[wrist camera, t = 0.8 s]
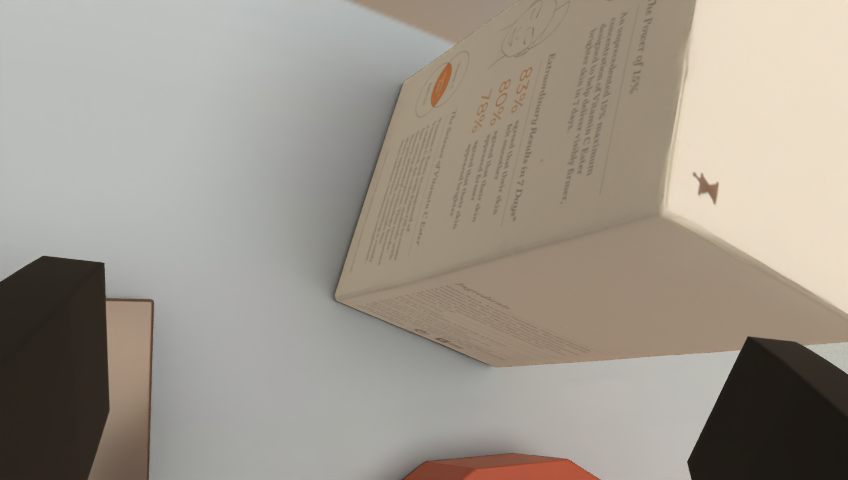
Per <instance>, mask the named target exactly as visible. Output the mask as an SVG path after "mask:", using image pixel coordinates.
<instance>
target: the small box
mask: <svg viewBox="0 0 848 480" xmlns="http://www.w3.org/2000/svg"><path fill="white" fill-rule="evenodd" d="M335 299H336V301H338V302H340V303H343V304H345V305H348V306H350V307H353V308H355V309H357V310H359V311H362V312H365V313H367V314H369V315H372V316H374V317H377V318H379V319H381V320H383V321H386V322H388V323H391V324H393V325H396V326H398V327H401V328H403V329H405V330H408V331H410V332H413V333H415V334H418V335H420V336H423V337H425V338H427V339H430V340H432V341H435V342H437V343H440V344H442V345H444V346H447V347H449V348H451V349H454V350H456V351H458V352H460V353H463V354H465V355H467V356H470V357H472V358H474V359H477V360H479V361H482V362H484V363H486V364H488V365H491V366H493V367H512V366H525V365H538V364H555V363H572V362H585V361H600V360H613V359H626V358H638V357H650V356H664V355H682V354H694V353H710V352H724V351H734V350H741V349H742V347H743V345H744V343H745V341H746V339H747V337H748V336H750V337H759V338H768V339H776V340H785V341H794V342H797V343H799V344H801V345H815V344H827V343H840V342H848V0H518V1H516V2H515V3H513V4H512V5H511V6H509V7H508V8H506V9H505V10H504V11H502V12H501V13H500V14H498V15H497V16H495V17H494V18H493V19H491V20H490V21H489V22H487V23H486V24H484V25H483V26H482V27H480V28H479V29H477V30H476V31H475V32H473V33H472V34H470V35H469V36H467V37H466V38H465V39H463V40H462V41H461V42H459V43H458V44H456V45H455V46H454V47H452V48H451V49H449V50H448V51H447V52H445V53H444V54H442V55H441V56H440V57H438V58H437V59H435V60H434V61H433V62H431V63H430V64H428V65H427V66H426V67H424V68H423V69H421V70H420V71H418V72H417V73H415V74H414V75H413V76H411V77H410V78H408V79H407V80H406V81H404V83H403V86H402V89H401V92H400V95H399V98H398V101H397V104H396V107H395V110H394V113H393V116H392V119H391V122H390V125H389V128H388V131H387V134H386V137H385V140H384V143H383V146H382V150H381V153H380V156H379V159H378V162H377V165H376V168H375V171H374V174H373V177H372V180H371V183H370V186H369V189H368V192H367V195H366V199H365V202H364V205H363V208H362V211H361V214H360V217H359V220H358V223H357V226H356V230H355V233H354V236H353V239H352V242H351V245H350V248H349V252H348V255H347V258H346V261H345V264H344V267H343V271H342V274H341V277H340V280H339V283H338V286H337V290H336V293H335Z"/></svg>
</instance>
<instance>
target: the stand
mask: <svg viewBox="0 0 848 480" xmlns="http://www.w3.org/2000/svg"><path fill="white" fill-rule="evenodd" d="M153 320H154V301H153V300H151V299H115V298H106V322H107V349H108V376H109V403H110V411H109V414H108V418H107V421H106V424H105V427H104V430H103V434H102V437H101V440H100V443H99V447H98V450H97V453H96V456H95V459H94V462H93V465H92V468H91V471H90V474H89V477H88V480H149V454H150V421H151V387H152V353H153Z"/></svg>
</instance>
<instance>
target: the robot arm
mask: <svg viewBox="0 0 848 480" xmlns="http://www.w3.org/2000/svg"><path fill="white" fill-rule="evenodd" d="M109 411H110V403H109V376H108V349H107V322H106V295H105V268H104V263H101V262H93V261H84V260H75V259H66V258H58V257H49V256H42V257H40V258H39V259H37V260H35V261H33V262H32V263H30V264H28V265H27V266H25V267H23V268H22V269H20V270H18V271H17V272H15V273H14V274H12V275H10V276H9V277H7V278H6V279H4V280H3V281H1V282H0V480H88V477H89V474H90V471H91V468H92V465H93V462H94V459H95V456H96V453H97V450H98V447H99V443H100V440H101V437H102V434H103V430H104V427H105V424H106V421H107V418H108V414H109ZM687 463H688V467H689V471H690V475H691V479H692V480H848V374H846V373H845V372H844V371H842V370H841V369H839V368H838V367H836V366H835V365H833V364H832V363H830V362H829V361H827V360H826V359H824V358H822V357H821V356H819V355H818V354H816V353H814V352H813V351H811V350H809V349H808V348H806V347H804V346H803V345H801V344H799V343H797V342H794V341H785V340H776V339H768V338H759V337H750V336H748V337H747V339H746V341H745V343H744V345H743V347H742V349H741V351H740V353H739V355H738V357H737V360H736V362H735V364H734V366H733V368H732V370H731V372H730V374H729V376H728V378H727V380H726V382H725V384H724V387H723V389H722V391H721V393H720V395H719V397H718V399H717V401H716V403H715V405H714V407H713V409H712V412H711V414H710V416H709V418H708V420H707V422H706V424H705V426H704V428H703V430H702V432H701V434H700V436H699V439H698V441H697V443H696V445H695V447H694V449H693V451H692V453H691V455H690V457H689V459H688V461H687Z"/></svg>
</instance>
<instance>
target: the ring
mask: <svg viewBox="0 0 848 480" xmlns="http://www.w3.org/2000/svg"><path fill="white" fill-rule="evenodd" d="M403 480H600V479H598V478H597V477H595V476H594V475H592V474H591V473H589V472H587V471H586V470H584V469H583V468H581V467H580V466H578V465H576V464H575V463H573V462H572V461H570V460H568V459H563V458H553V457H544V456H534V455H525V454H515V453H511V454H500V455H489V456H479V457H468V458H457V459H447V460H436V461H426V462H425V463H423V464H422V465H421V466H420V467H418V468H417V469H416V470H415V471H413V472H412V473H411V474H410V475H408V476H407V477H406V478H405V479H403Z"/></svg>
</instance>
